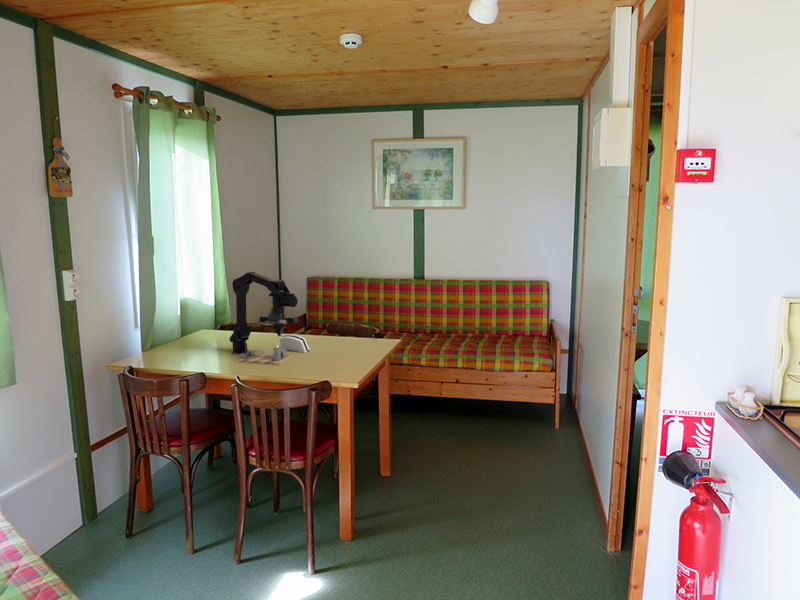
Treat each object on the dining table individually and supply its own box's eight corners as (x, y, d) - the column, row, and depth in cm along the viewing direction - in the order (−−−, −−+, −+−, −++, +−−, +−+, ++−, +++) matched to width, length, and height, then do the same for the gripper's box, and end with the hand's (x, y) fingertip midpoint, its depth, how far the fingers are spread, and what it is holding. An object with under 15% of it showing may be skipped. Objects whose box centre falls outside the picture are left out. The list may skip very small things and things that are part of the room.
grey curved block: (311, 350, 302) (307, 334, 297) (306, 355, 298) (301, 339, 294) (286, 347, 310) (282, 331, 305) (281, 351, 306) (276, 336, 302)
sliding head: (272, 360, 277) (272, 345, 276) (279, 355, 285) (279, 342, 284) (279, 360, 276) (279, 346, 275) (286, 356, 284) (285, 342, 283)
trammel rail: (241, 358, 281) (241, 353, 280) (249, 354, 288) (248, 349, 288) (279, 361, 276) (279, 356, 276) (286, 356, 284) (286, 351, 284)
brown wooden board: (237, 362, 278) (237, 359, 278) (251, 355, 292) (251, 352, 291) (279, 365, 274) (279, 362, 273) (290, 357, 287) (290, 355, 287)
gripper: (253, 307, 274) (254, 338, 276) (289, 309, 270) (290, 340, 272) (263, 304, 285) (264, 334, 287) (298, 305, 281) (299, 335, 283)
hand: (279, 336), depth 282 cm, fingers closed
